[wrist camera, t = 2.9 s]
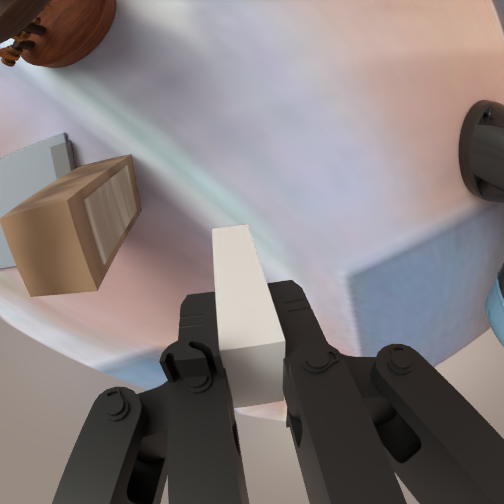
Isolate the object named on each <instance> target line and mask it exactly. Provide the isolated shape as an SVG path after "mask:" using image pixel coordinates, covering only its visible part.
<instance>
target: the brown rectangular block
mask: <svg viewBox="0 0 504 504" xmlns="http://www.w3.org/2000/svg"><path fill="white" fill-rule="evenodd" d="M140 212H141V205H140V200H139V196H138V191H137V186H136V180H135V175H134V169H133V164H132V158H131V154H130V155H125V156H121V157H116V158H112V159H107V160H103V161H99V162H95V163H91V164H87V165H83V166H79V167H78V168H76V169H74V170H72V171H71V172H69V173H67V174H65V175H64V176H62V177H60V178H59V179H57V180H55V181H54V182H52V183H51V184H49V185H47V186H46V187H44V188H43V189H41V190H40V191H38V192H37V193H35V194H33V195H32V196H30V197H29V198H28V199H26V200H25V201H23V202H22V203H20V204H19V205H17V206H16V207H15V208H13V209H12V210H11V211H9V212H8V213H6V214H5V215H4V216H2V217H1V218H0V223H1V226H2V229H3V232H4V235H5V238H6V240H7V243H8V246H9V248H10V251H11V254H12V256H13V258H14V261H15V263H16V266H17V268H18V270H19V273H20V275H21V277H22V279H23V281H24V284H25V286H26V288H27V290H28V292H29V294H30V296H31V297H34V296H46V295H58V294H69V293H81V292H91V291H98V289H99V287H100V285H101V283H102V281H103V279H104V277H105V275H106V273H107V271H108V269H109V267H110V265H111V263H112V261H113V259H114V258H115V256H116V254H117V252H118V250H119V248H120V247H121V245H122V243H123V241H124V239H125V238H126V236H127V234H128V232H129V231H130V229H131V227H132V226H133V224H134V222H135V220H136V219H137V217H138V215H139V214H140Z"/></svg>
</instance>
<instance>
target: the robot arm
mask: <svg viewBox="0 0 504 504" xmlns="http://www.w3.org/2000/svg"><path fill="white" fill-rule="evenodd" d="M459 163H460V169H461V174H462V177H463V180H464V182H465V184H466V186H467V188H468V189H469V190H470V191H471V192H472V193H473V194H475V195H476V196H478V197H480V198H482V199H484V200H487V201H492V202H501V203H504V105H502V104H500V103H497V102H493V101H488V100H482V101H479V102H477V103H476V104H474V105H473V106H472V107H471V109H470V110H469V112H468V113H467V115H466V117H465V120H464V122H463V126H462V129H461V134H460V141H459ZM212 241H213V262H214V280H215V292H207V293H199V294H190V295H187V297H186V298H185V300H184V301H183V303H182V304H181V309H180V322H179V336H178V341H176V342H174V343H172V344H171V345H169V346H168V347H167V348H166V349H165V350H164V352H163V353H162V355H161V358H160V361H159V362H160V364H161V366H162V369H163V371H164V373H165V375H166V377H167V379H168V381H167V382H165V383H164V384H163V385H161V386H159V387H157V388H154V389H151V390H148V391H145V392H142V393H139V394H136V393H135V392H134V391H133V390H131V389H128V388H126V387H113V388H110V389H107V390H105V391H104V392H103V393H101V394H100V395H99V396H98V398H97V399H96V400H95V402H94V404H93V406H92V408H91V410H90V412H89V414H88V417H87V419H86V421H85V423H84V425H83V427H82V430H81V432H80V434H79V436H78V439H77V441H76V443H75V446H74V448H73V450H72V453H71V455H70V458H69V460H68V463H67V465H66V468H65V470H64V473H63V475H62V478H61V480H60V483H59V486H58V489H57V491H56V494H55V497H54V500H53V503H52V504H160V502H161V498H162V494H163V490H164V486H165V482H166V479H167V475H168V496H169V504H249V499H248V494H247V488H246V482H245V476H244V470H243V463H242V457H241V451H240V444H239V437H238V430H237V424H236V420H235V415H234V408H238V407H246V406H253V405H260V404H266V403H272V402H277V401H283V400H284V396H285V400H286V404H287V419H286V427H290V430H291V434H292V437H293V441H294V445H295V449H296V453H297V457H298V461H299V464H300V468H301V472H302V476H303V479H304V483H305V487H306V491H307V495H308V498H309V502H310V504H407V503H406V501H405V498H404V495H403V493H402V490H401V488H400V485H399V483H398V480H397V478H396V476H395V473H396V474H397V476H398V477H399V478H400V480H401V481H402V482H403V483H404V485H405V486H406V487H407V488H408V490H409V491H410V492H411V493H412V495H413V496H414V497H415V498H416V500H417V501H418V502H419V503H420V504H504V439H503V438H502V437H501V436H500V435H499V434H498V433H497V432H496V430H495V429H494V428H493V427H492V426H491V425H490V424H489V423H488V422H487V421H486V420H485V419H484V418H483V417H482V416H481V415H480V414H479V413H478V411H477V410H475V408H474V407H473V406H472V405H471V404H470V403H469V402H468V401H467V400H466V399H465V398H464V397H463V396H462V395H461V394H460V393H459V392H458V391H457V390H456V389H455V388H454V387H453V386H452V385H451V384H450V383H448V381H447V380H446V379H445V378H444V377H443V376H442V375H441V374H440V373H439V372H437V370H436V369H435V368H434V367H433V366H432V365H431V364H429V363H428V362H427V361H426V360H425V359H424V358H423V357H422V356H421V355H420V354H419V353H418V352H417V351H415V350H414V349H413V348H411V347H409V346H406V345H403V344H391V345H388V346H385V347H383V348H382V349H381V350H380V351H379V352H378V354H377V357H352V356H347V355H344V354H341V353H340V352H339V351H338V350H337V349H336V348H334V347H332V346H331V345H329V344H328V342H327V341H326V338H325V336H324V334H323V332H322V330H321V328H320V325H319V323H318V321H317V319H316V317H315V315H314V313H313V310H312V309H311V306H310V304H309V302H308V300H307V298H306V296H305V293H304V291H303V289H302V288H301V287H300V286H299V285H298V284H296V283H295V282H294V281H292V280H288V281H281V282H274V283H267V282H266V279H265V276H264V273H263V270H262V266H261V263H260V260H259V257H258V254H257V251H256V248H255V245H254V242H253V239H252V235H251V232H250V229H249V226H248V224H245V225H237V226H229V227H221V228H213V229H212ZM485 310H486V315H487V318H488V321H489V324H490V326H491V328H492V330H493V332H494V334H495V335H496V337H497V338H498V340H499V341H500V343H501V344H502V346H503V347H504V264H503V266H502V268H501V270H500V272H498V273H497V274H496V277H495V282H494V284H493V286H492V288H491V290H490V292H489V294H488V296H487V299H486V303H485ZM394 472H395V473H394Z"/></svg>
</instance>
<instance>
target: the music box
mask: <svg viewBox="0 0 504 504" xmlns="http://www.w3.org/2000/svg"><path fill="white" fill-rule="evenodd" d="M115 11H116V2H115V0H0V43H2V42H5V41H6V40H8V39H10V38H12V39H14V40H15V41H14V43H13V45H10V46H7V47H6V48H2V49H0V57H2V59H1V61H2V63H4V64H5V65H7V66H14V65H15V63H16V62H15V61H17V60H18V59H19V58H20V55H21V57H22V58H23V59H24V60H25V61H26V62H28V63H30V64H32V65H37V66H45V67H54V68H56V67H64V66H67V65H70V64H73V63H75V62H77V61H79V60H80V59H82V58H84V57H85V56H86V55H88V54H89V53H90V52H91V51H92V50H93V49H95V48H96V46H97V45H98V44H99V43H100V42H101V41H102V39H103V38H104V37H105V35H106V34H107V32H108V30H109V29H110V27H111V24H112V22H113V19H114V16H115Z"/></svg>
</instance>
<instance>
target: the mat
mask: <svg viewBox="0 0 504 504" xmlns="http://www.w3.org/2000/svg"><path fill="white" fill-rule="evenodd" d="M74 169H76V168H75V163H74V158H73V152H72V147H71V141H66V135H65V133H62V134H59V135H57V136H54V137H51V138H48V139H45V140H43V141H40V142H38V143H35V144H33V145H30V146H28V147H25V148H23V149H20V150H18V151H16V152H13V153H11V154H9V155H7V156H5V157H2V158H0V218H1V217H2V216H4V215H5V214H6V213H8V212H9V211H11V210H12V209H13V208H15V207H16V206H17V205H19V204H20V203H22V202H23V201H25V200H26V199H28V198H29V197H30V196H32V195H33V194H35V193H37V192H38V191H40V190H41V189H43V188H44V187H46V186H47V185H49V184H51V183H52V182H54V181H55V180H57V179H59V178H60V177H62V176H64V175H65V174H67V173H69V172H71V171H72V170H74ZM12 266H16V263H15V261H14V258H13V256H12V254H11V251H10V248H9V246H8V243H7V240H6V238H5V235H4V232H3V229H2V226H1V223H0V268H6V267H12Z"/></svg>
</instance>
